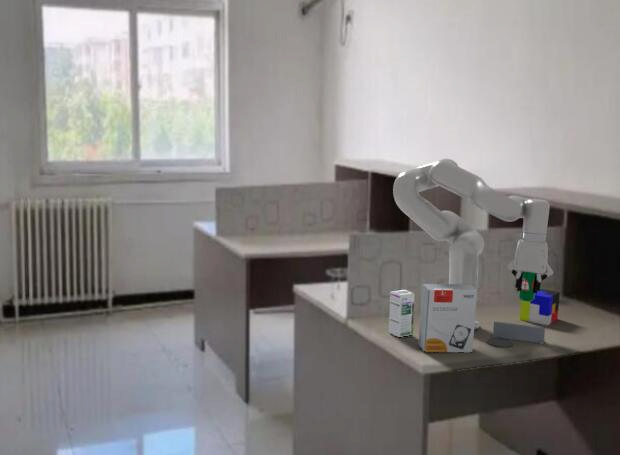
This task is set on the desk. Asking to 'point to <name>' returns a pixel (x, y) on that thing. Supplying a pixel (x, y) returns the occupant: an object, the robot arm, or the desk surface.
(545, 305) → the puzzle toy
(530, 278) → the soda can
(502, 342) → the coaster
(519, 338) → the divider
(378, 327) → the desk surface
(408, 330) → the syrup box
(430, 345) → the hard drive box
